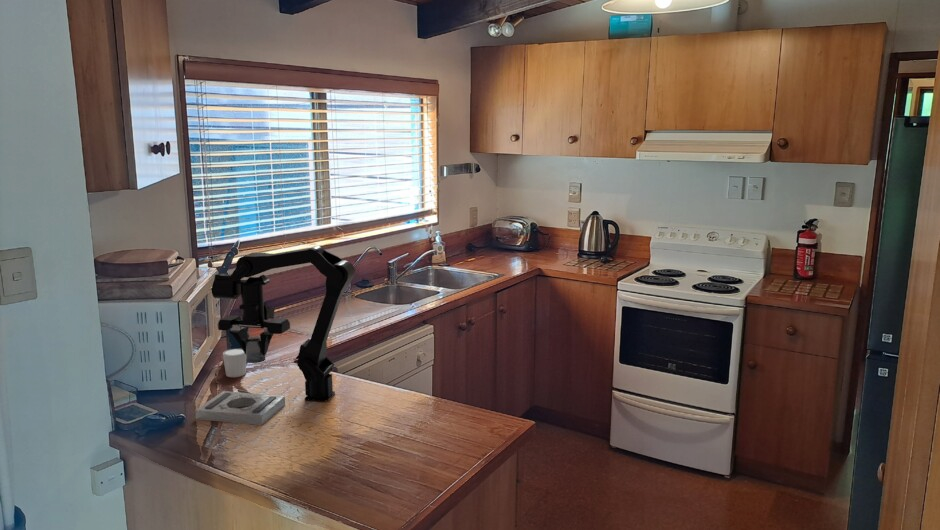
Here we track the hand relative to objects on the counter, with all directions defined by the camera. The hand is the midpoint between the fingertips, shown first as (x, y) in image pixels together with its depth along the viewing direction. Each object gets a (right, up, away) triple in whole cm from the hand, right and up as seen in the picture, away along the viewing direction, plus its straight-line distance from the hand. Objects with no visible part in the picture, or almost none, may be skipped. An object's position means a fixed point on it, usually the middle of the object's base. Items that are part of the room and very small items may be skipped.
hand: (255, 354), depth 187 cm
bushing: (0, -2, 0) cm, 2 cm away
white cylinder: (-11, -8, +17) cm, 22 cm away
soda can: (-14, -6, +29) cm, 33 cm away
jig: (0, -14, -10) cm, 17 cm away
